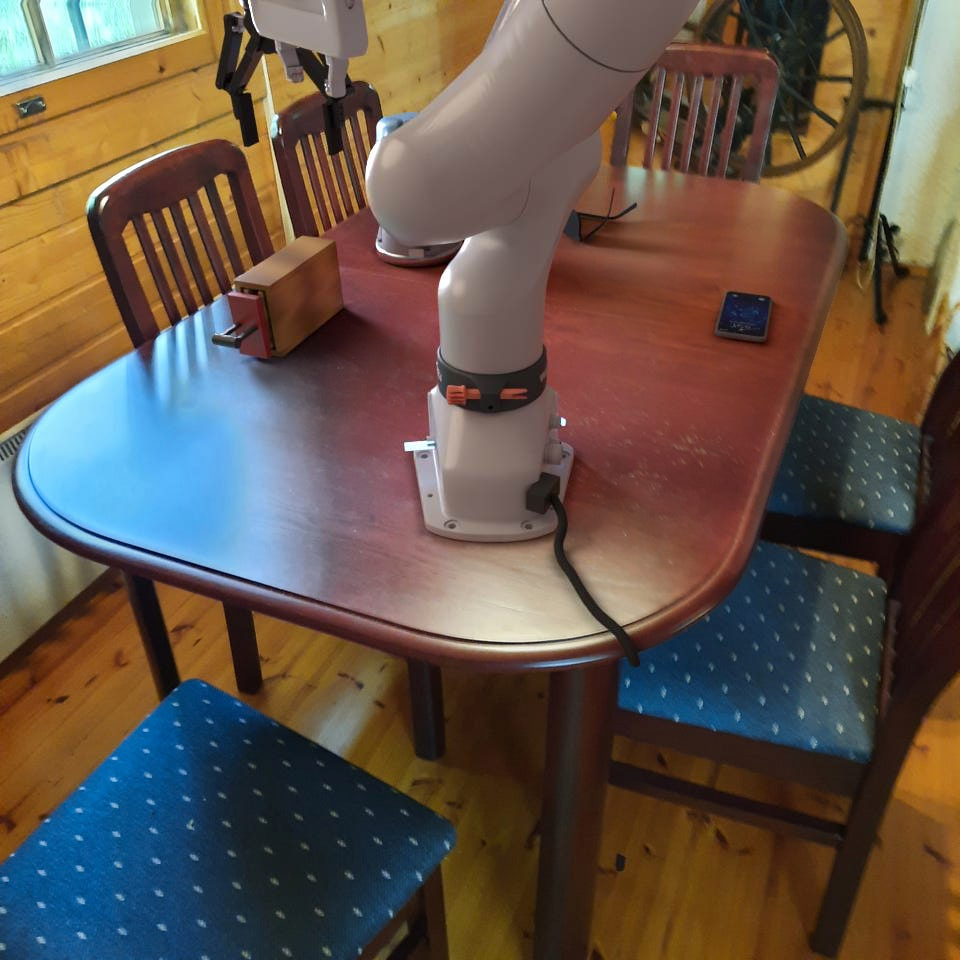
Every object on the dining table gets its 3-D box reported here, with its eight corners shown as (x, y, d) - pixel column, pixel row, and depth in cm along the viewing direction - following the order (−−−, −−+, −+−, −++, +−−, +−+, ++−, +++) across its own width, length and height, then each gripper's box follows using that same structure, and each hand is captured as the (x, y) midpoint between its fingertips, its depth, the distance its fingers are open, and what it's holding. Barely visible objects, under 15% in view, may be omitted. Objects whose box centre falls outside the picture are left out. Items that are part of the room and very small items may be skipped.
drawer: (244, 377, 115) (231, 316, 110) (216, 371, 117) (201, 311, 111) (327, 310, 131) (320, 254, 126) (301, 306, 133) (293, 250, 128)
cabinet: (282, 357, 122) (269, 286, 115) (248, 350, 124) (233, 280, 117) (344, 306, 135) (335, 240, 128) (312, 301, 136) (302, 235, 130)
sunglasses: (646, 234, 156) (649, 207, 153) (572, 244, 153) (574, 217, 150) (609, 205, 169) (611, 179, 166) (540, 214, 166) (541, 188, 163)
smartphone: (773, 295, 132) (766, 339, 121) (772, 301, 133) (765, 345, 121) (725, 289, 134) (713, 331, 123) (724, 295, 135) (712, 337, 123)
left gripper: (370, -32, 104) (386, 148, 117) (201, -35, 112) (233, 134, 125) (339, -24, 99) (359, 164, 111) (164, -28, 106) (202, 148, 119)
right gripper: (376, -44, 87) (387, 100, 96) (279, -58, 100) (296, 70, 108) (322, -39, 84) (338, 110, 92) (230, -53, 97) (251, 78, 105)
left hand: (293, 148), depth 118 cm, fingers open, 13 cm apart
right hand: (315, 88), depth 101 cm, fingers open, 8 cm apart
